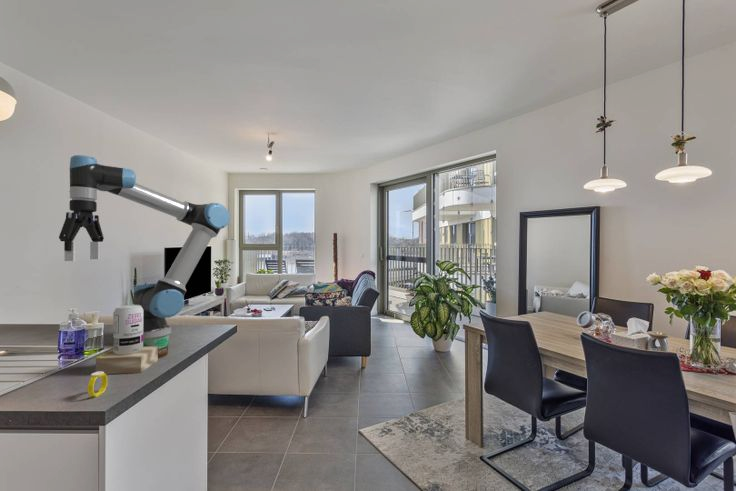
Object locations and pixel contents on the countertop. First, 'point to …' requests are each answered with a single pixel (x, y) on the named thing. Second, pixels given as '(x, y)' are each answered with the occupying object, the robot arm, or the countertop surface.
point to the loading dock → (127, 361)
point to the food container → (158, 339)
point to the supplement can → (127, 329)
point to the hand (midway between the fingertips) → (82, 260)
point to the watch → (92, 381)
